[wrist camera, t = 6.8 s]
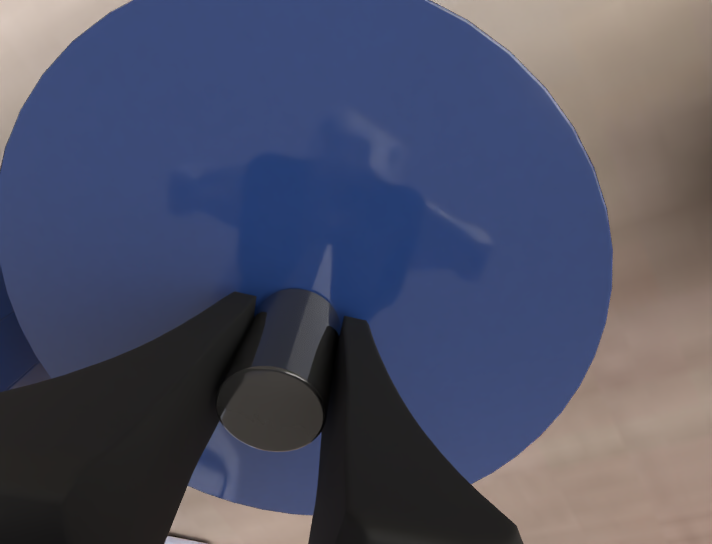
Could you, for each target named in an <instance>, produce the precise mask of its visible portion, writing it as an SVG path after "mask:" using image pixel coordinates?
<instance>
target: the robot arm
mask: <svg viewBox="0 0 712 544" xmlns="http://www.w3.org/2000/svg"><path fill="white" fill-rule="evenodd" d="M256 298H257V296H253V295H249V294H244V293H239V292H235V291H234V292H233V293H231V294H229V295H228V296H226V297H224V298H223V299H221V300H220V301H218V302H217V303H215V304H214V305H212V306H211V307H209V308H207V309H206V310H204V311H203V312H201V313H200V314H198V315H196V316H195V317H193V318H191V319H190V320H188V321H186V322H185V323H183V324H182V325H180V326H178V327H176V328H174V329H173V330H171V331H169V332H167V333H165V334H163V335H162V336H160V337H158V338H156V339H154V340H152V341H150V342H148V343H146V344H144V345H142V346H139V347H137V348H135V349H133V350H130V351H128V352H126V353H123V354H121V355H119V356H116V357H114V358H111V359H109V360H106V361H103V362H100V363H97V364H94V365H92V366H89V367H86V368H83V369H80V370H77V371H74V372H71V373H68V374H65V375H62V376H59V377H56V378H52V379H49V380H45V381H42V382H38V383H34V384H31V385H27V386H23V387H19V388H15V389H11V390H7V391H3V392H0V544H207V543H203V542H198V541H193V540H188V539H182V538H177V537H172V536H168V533H169V531H170V528H171V526H172V523H173V520H174V518H175V515H176V513H177V510H178V508H179V505H180V503H181V501H182V498H183V496H184V493H185V491H186V488H187V486H188V483H189V481H190V478H191V476H192V474H193V472H194V470H195V467H196V465H197V463H198V461H199V459H200V457H201V455H202V453H203V451H204V449H205V448H206V446H207V444H208V442H209V440H210V438H211V436H212V434H213V432H214V430H215V429H216V427H217V425H218V423H219V421H220V420H219V418H218V415H217V412H216V406H215V398H216V393H217V391H218V388H219V386H220V384H221V382H222V380H223V378H224V376H225V374H226V372H227V370H228V368H229V366H230V364H231V362H232V360H233V358H234V356H235V354H236V352H237V350H238V348H239V346H240V344H241V342H242V340H243V338H244V336H245V334H246V332H247V330H248V328H249V326H250V324H251V322H252V320H253V318H254V312H255V305H256ZM308 544H523V542H522V539H521V537H520V534H519V531H518V528H517V526H516V525H515V524H514V523H513V522H512V521H511V520H509V519H508V518H507V517H506V516H505V515H504V514H503V513H502V512H500V511H499V510H498V509H497V508H496V507H495V506H494V505H493V504H491V503H490V502H489V501H488V500H487V499H486V498H485V497H484V496H482V495H481V494H480V493H479V492H478V491H477V490H476V489H475V488H474V487H473V486H472V485H471V484H470V483H469V482H468V481H467V480H466V479H465V478H464V477H463V476H462V475H461V474H460V473H459V472H458V471H457V470H456V469H455V468H454V467H453V466H452V464H451V463H450V462H449V461H448V460H447V459H446V458H445V457H444V456H443V454H442V453H441V452H440V451H439V450H438V448H437V447H436V446H435V445H434V444H433V442H432V441H431V440H430V439H429V438H428V436H427V435H426V434H425V432H424V431H423V430H422V429H421V427H420V426H419V424H418V423H417V422H416V420H415V419H414V417H413V416H412V414H411V413H410V411H409V410H408V408H407V406H406V405H405V403H404V401H403V400H402V398H401V396H400V395H399V393H398V391H397V389H396V387H395V386H394V384H393V382H392V380H391V378H390V376H389V374H388V372H387V370H386V368H385V365H384V363H383V361H382V359H381V357H380V354H379V352H378V349H377V347H376V344H375V342H374V339H373V336H372V333H371V330H370V326H369V324H368V323H367V321H366V320H361V319H357V318H352V317H348V316H344V319H343V323H342V327H341V331H340V335H339V340H338V346H337V353H336V359H335V368H334V375H333V381H332V387H331V394H330V400H329V406H328V413H327V419H326V423H325V426H324V428H323V430H322V433H321V446H320V460H319V473H318V485H317V493H316V501H315V507H314V513H313V519H312V525H311V531H310V537H309V543H308Z"/></svg>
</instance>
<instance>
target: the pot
mask: <svg viewBox="0 0 712 544" xmlns="http://www.w3.org/2000/svg"><path fill="white" fill-rule="evenodd" d="M49 379H51V378H50V376H49V375H48V373H47V372H46V371H45V369H44V368H43V366H42V365H41V363H40V362H39V360H38V359H37V357H36V356H35V354H34V352H33V350H32V349H31V347H30V345H29V343H28V341H27V339H26V337H25V335H24V334H23V332H22V330H21V328H20V326H19V324H18V321H17V318H16V316H15V313H14V311H13V308H12V305H11V303H10V300H9V298H8V295H7V292H6V288H5V284H4V280H3V275H2V271H1V267H0V392H3V391H7V390H11V389H15V388H19V387H23V386H27V385H31V384H34V383H38V382H42V381H45V380H49Z"/></svg>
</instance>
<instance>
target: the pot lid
mask: <svg viewBox="0 0 712 544" xmlns="http://www.w3.org/2000/svg"><path fill="white" fill-rule="evenodd" d="M612 259H613V248H612V241H611V234H610V227H609V220H608V213H607V207H606V204H605V201H604V198H603V195H602V191H601V188H600V185H599V182H598V178H597V175H596V172H595V169H594V166H593V164H592V162H591V160H590V158H589V156H588V154H587V152H586V150H585V148H584V146H583V144H582V142H581V140H580V138H579V136H578V134H577V132H576V130H575V128H574V126H573V125H572V124H571V122H570V121H569V119H568V118H567V117H566V115H565V114H564V112H563V111H562V110H561V108H560V107H559V105H558V104H557V103H556V101H555V100H554V98H553V97H552V96H551V94H550V93H549V91H548V90H547V89H546V87H545V86H544V85H543V84H542V83H541V82H540V81H539V80H538V79H537V78H536V77H535V76H534V75H533V74H532V73H531V72H530V71H529V70H528V69H527V68H526V67H525V66H524V65H523V64H522V63H521V62H520V61H519V60H518V59H517V58H516V57H515V56H514V55H513V54H512V53H511V52H510V51H509V50H508V49H506V48H505V47H504V46H502V45H501V44H500V43H498V42H497V41H496V40H494V39H493V38H491V37H490V36H489V35H487V34H486V33H485V32H483V31H482V30H481V29H479V28H478V27H477V26H475V25H474V24H473V23H471V22H470V21H469V20H467V19H465V18H463V17H461V16H460V15H458V14H456V13H454V12H452V11H450V10H448V9H446V8H444V7H442V6H441V5H439V4H437V3H435V2H433V1H431V0H132V1H130V2H128V3H126V4H124V5H122V6H120V7H118V8H117V9H115V10H113V11H111V12H109V13H108V14H107V15H106V16H104V17H103V18H102V19H100V20H99V21H98V22H96V23H95V24H94V25H93V26H91V27H90V28H89V29H87V30H86V31H85V32H83V33H82V34H81V35H80V36H78V37H77V38H76V39H74V40H73V41H72V42H71V43H70V45H69V46H68V47H67V48H66V49H65V50H64V51H63V52H62V53H61V55H60V56H59V57H58V58H57V59H56V60H55V61H54V62H53V63H52V64H51V66H50V67H49V68H48V69H47V70H46V71H45V72H44V73H43V75H42V76H41V78H40V79H39V81H38V83H37V84H36V86H35V87H34V89H33V91H32V92H31V94H30V95H29V97H28V99H27V100H26V102H25V103H24V105H23V107H22V108H21V110H20V112H19V115H18V117H17V120H16V122H15V125H14V127H13V130H12V132H11V134H10V137H9V139H8V142H7V144H6V147H5V151H4V156H3V160H2V165H1V169H0V267H1V271H2V275H3V280H4V284H5V288H6V292H7V295H8V298H9V300H10V303H11V305H12V308H13V311H14V313H15V316H16V318H17V321H18V324H19V326H20V328H21V330H22V332H23V334H24V335H25V337H26V339H27V341H28V343H29V345H30V347H31V349H32V350H33V352H34V354H35V356H36V357H37V359H38V360H39V362H40V363H41V365H42V366H43V368H44V369H45V371H46V372H47V373H48V375H49V376H50V378H51V379H52V378H56V377H59V376H62V375H65V374H68V373H71V372H74V371H77V370H80V369H83V368H86V367H89V366H92V365H94V364H97V363H100V362H103V361H106V360H109V359H111V358H114V357H116V356H119V355H121V354H123V353H126V352H128V351H130V350H133V349H135V348H137V347H139V346H142V345H144V344H146V343H148V342H150V341H152V340H154V339H156V338H158V337H160V336H162V335H163V334H165V333H167V332H169V331H171V330H173V329H174V328H176V327H178V326H180V325H182V324H183V323H185V322H186V321H188V320H190V319H191V318H193V317H195V316H196V315H198V314H200V313H201V312H203V311H204V310H206V309H207V308H209V307H211V306H212V305H214V304H215V303H217V302H218V301H220V300H221V299H223V298H224V297H226V296H228V295H229V294H231V293H233V292H234V291H235V292H239V293H244V294H249V295H253V296H257V298H256V305H255V312H254V318H253V320H252V322H251V324H250V326H249V328H248V330H247V332H246V334H245V336H244V338H243V340H242V342H241V344H240V346H239V348H238V350H237V352H236V354H235V356H234V358H233V360H232V362H231V364H230V366H229V368H228V370H227V372H226V374H225V376H224V378H223V380H222V382H221V384H220V386H219V388H218V391H217V393H216V398H215V406H216V412H217V415H218V418H219V420H220V421H219V423H218V425H217V427H216V429H215V430H214V432H213V434H212V436H211V438H210V440H209V442H208V444H207V446H206V448H205V449H204V451H203V453H202V455H201V457H200V459H199V461H198V463H197V465H196V467H195V470H194V472H193V474H192V476H191V478H190V481H189V483H188V486H189V487H192V488H194V489H196V490H199V491H201V492H203V493H206V494H209V495H212V496H215V497H218V498H221V499H224V500H227V501H230V502H233V503H237V504H242V505H246V506H250V507H254V508H258V509H262V510H269V511H275V512H282V513H288V514H298V515H312V516H313V513H314V507H315V501H316V493H317V485H318V473H319V460H320V446H321V433H322V430H323V428H324V426H325V423H326V419H327V413H328V406H329V400H330V394H331V387H332V381H333V375H334V368H335V359H336V353H337V346H338V340H339V335H340V331H341V327H342V323H343V319H344V316H348V317H352V318H357V319H361V320H366V321H367V323H368V324H369V326H370V330H371V333H372V336H373V339H374V342H375V344H376V347H377V349H378V352H379V354H380V357H381V359H382V361H383V363H384V365H385V368H386V370H387V372H388V374H389V376H390V378H391V380H392V382H393V384H394V386H395V387H396V389H397V391H398V393H399V395H400V396H401V398H402V400H403V401H404V403H405V405H406V406H407V408H408V410H409V411H410V413H411V414H412V416H413V417H414V419H415V420H416V422H417V423H418V424H419V426H420V427H421V429H422V430H423V431H424V432H425V434H426V435H427V436H428V438H429V439H430V440H431V441H432V442H433V444H434V445H435V446H436V447H437V448H438V450H439V451H440V452H441V453H442V454H443V456H444V457H445V458H446V459H447V460H448V461H449V462H450V463H451V464H452V466H453V467H454V468H455V469H456V470H457V471H458V472H459V473H460V474H461V475H462V476H463V477H464V478H465V479H466V480H467V481H468V482H469V483H470V484H473V483H474V482H476V481H478V480H480V479H482V478H484V477H486V476H488V475H489V474H491V473H493V472H494V471H496V470H497V469H499V468H500V467H502V466H503V465H505V464H506V463H508V462H509V461H511V460H512V459H513V458H515V457H516V456H518V455H519V454H520V453H521V452H522V451H523V450H525V449H526V448H527V447H528V446H529V445H530V444H532V443H533V442H534V441H535V440H536V439H537V438H539V437H540V436H541V435H542V434H543V432H544V431H545V430H546V429H547V428H548V427H549V426H550V425H551V424H552V422H553V421H554V420H555V419H556V418H557V417H558V416H559V415H560V414H561V412H562V411H563V410H564V408H565V407H566V405H567V404H568V402H569V401H570V399H571V398H572V397H573V395H574V394H575V392H576V391H577V389H578V388H579V386H580V385H581V383H582V381H583V379H584V377H585V375H586V373H587V371H588V369H589V367H590V365H591V363H592V361H593V359H594V357H595V354H596V351H597V348H598V345H599V342H600V339H601V336H602V333H603V330H604V327H605V324H606V320H607V314H608V308H609V302H610V296H611V291H612Z"/></svg>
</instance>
